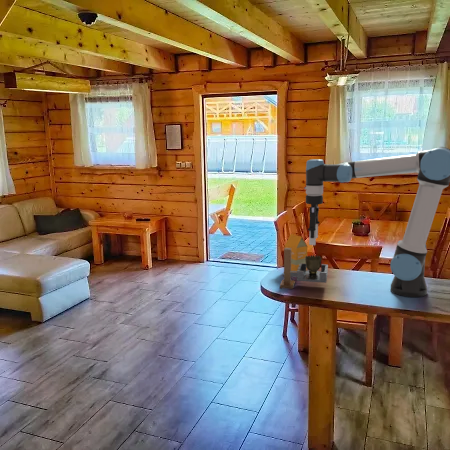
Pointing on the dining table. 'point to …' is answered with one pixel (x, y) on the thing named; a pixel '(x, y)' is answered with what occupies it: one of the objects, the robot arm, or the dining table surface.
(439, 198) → the robot arm
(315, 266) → the cup
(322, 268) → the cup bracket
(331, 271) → the dining table surface
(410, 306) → the dining table surface
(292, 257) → the orange juice
